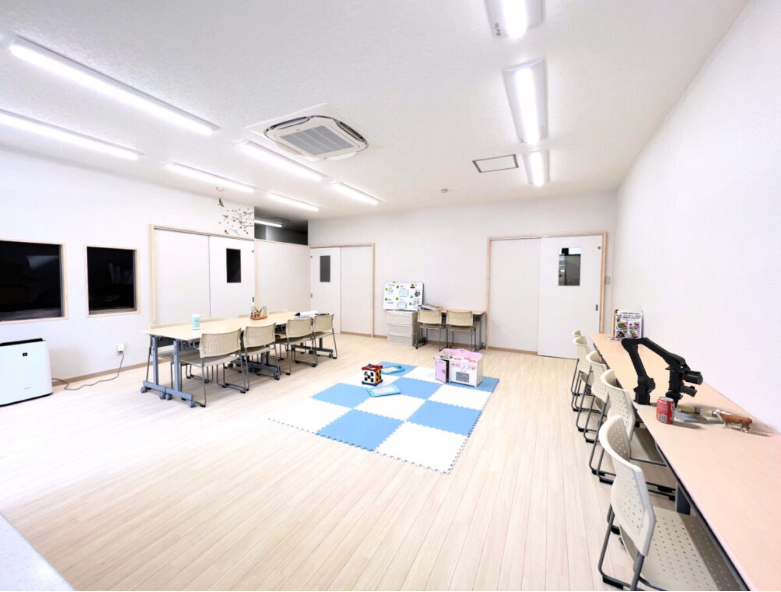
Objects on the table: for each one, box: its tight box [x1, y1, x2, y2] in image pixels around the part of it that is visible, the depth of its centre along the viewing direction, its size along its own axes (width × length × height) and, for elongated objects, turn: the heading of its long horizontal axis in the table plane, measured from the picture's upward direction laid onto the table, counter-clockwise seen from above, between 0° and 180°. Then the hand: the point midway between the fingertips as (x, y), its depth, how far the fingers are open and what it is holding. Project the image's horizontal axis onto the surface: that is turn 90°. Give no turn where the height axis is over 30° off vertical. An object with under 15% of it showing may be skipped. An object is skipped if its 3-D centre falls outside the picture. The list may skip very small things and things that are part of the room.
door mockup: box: [674, 409, 732, 425], centre depth 172 cm, size 23×12×4 cm, turn 87°
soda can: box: [655, 396, 676, 424], centre depth 167 cm, size 7×7×12 cm
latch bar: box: [675, 403, 702, 414], centre depth 175 cm, size 12×2×3 cm, turn 43°
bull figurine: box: [713, 409, 753, 434], centre depth 160 cm, size 4×13×8 cm, turn 44°
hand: (674, 407), depth 177 cm, fingers closed
